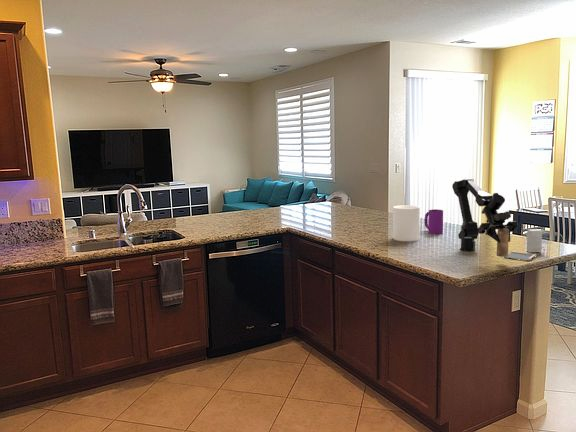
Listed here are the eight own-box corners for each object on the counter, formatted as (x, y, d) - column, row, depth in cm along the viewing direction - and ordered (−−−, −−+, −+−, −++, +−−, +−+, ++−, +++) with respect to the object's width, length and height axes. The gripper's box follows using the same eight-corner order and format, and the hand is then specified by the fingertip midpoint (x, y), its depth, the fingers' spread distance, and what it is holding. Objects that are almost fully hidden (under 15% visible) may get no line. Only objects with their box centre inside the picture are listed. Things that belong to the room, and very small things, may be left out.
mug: (434, 234, 306) (434, 211, 303) (419, 230, 320) (419, 208, 317) (445, 233, 309) (446, 210, 307) (430, 229, 323) (430, 207, 321)
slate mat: (503, 258, 242) (503, 255, 242) (511, 253, 251) (511, 251, 251) (529, 261, 234) (529, 258, 234) (536, 256, 243) (536, 254, 243)
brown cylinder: (495, 255, 231) (496, 229, 229) (498, 253, 234) (499, 227, 232) (505, 257, 227) (506, 230, 225) (509, 255, 231) (510, 228, 229)
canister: (420, 241, 287) (420, 208, 284) (393, 241, 291) (393, 208, 287) (418, 236, 303) (418, 205, 300) (392, 236, 306) (392, 205, 303)
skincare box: (537, 250, 255) (538, 228, 253) (541, 252, 251) (542, 230, 249) (525, 251, 255) (526, 229, 253) (530, 253, 251) (531, 230, 249)
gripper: (481, 206, 229) (493, 233, 220) (517, 204, 232) (530, 231, 223) (472, 220, 238) (483, 246, 229) (506, 218, 241) (519, 244, 232)
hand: (504, 241), depth 228 cm, fingers closed on brown cylinder, 5 cm apart
